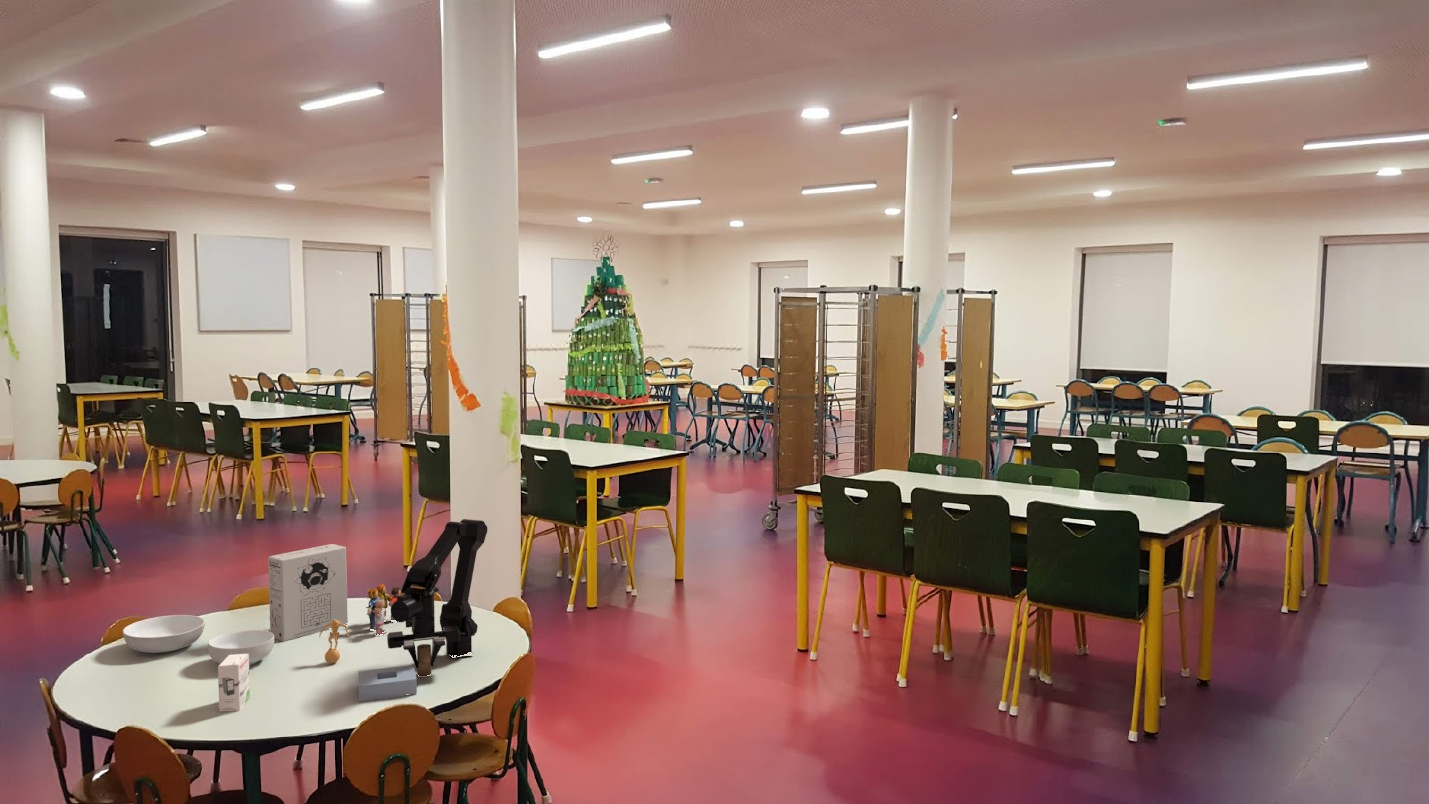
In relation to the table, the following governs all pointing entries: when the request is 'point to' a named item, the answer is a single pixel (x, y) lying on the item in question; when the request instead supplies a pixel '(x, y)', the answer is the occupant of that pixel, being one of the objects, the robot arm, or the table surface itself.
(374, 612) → the doll family
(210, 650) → the cereal bowl
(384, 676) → the socket block
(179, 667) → the table surface
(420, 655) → the peg
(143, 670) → the table surface
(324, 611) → the cereal box
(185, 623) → the serving bowl
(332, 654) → the figurine
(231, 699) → the ink box
